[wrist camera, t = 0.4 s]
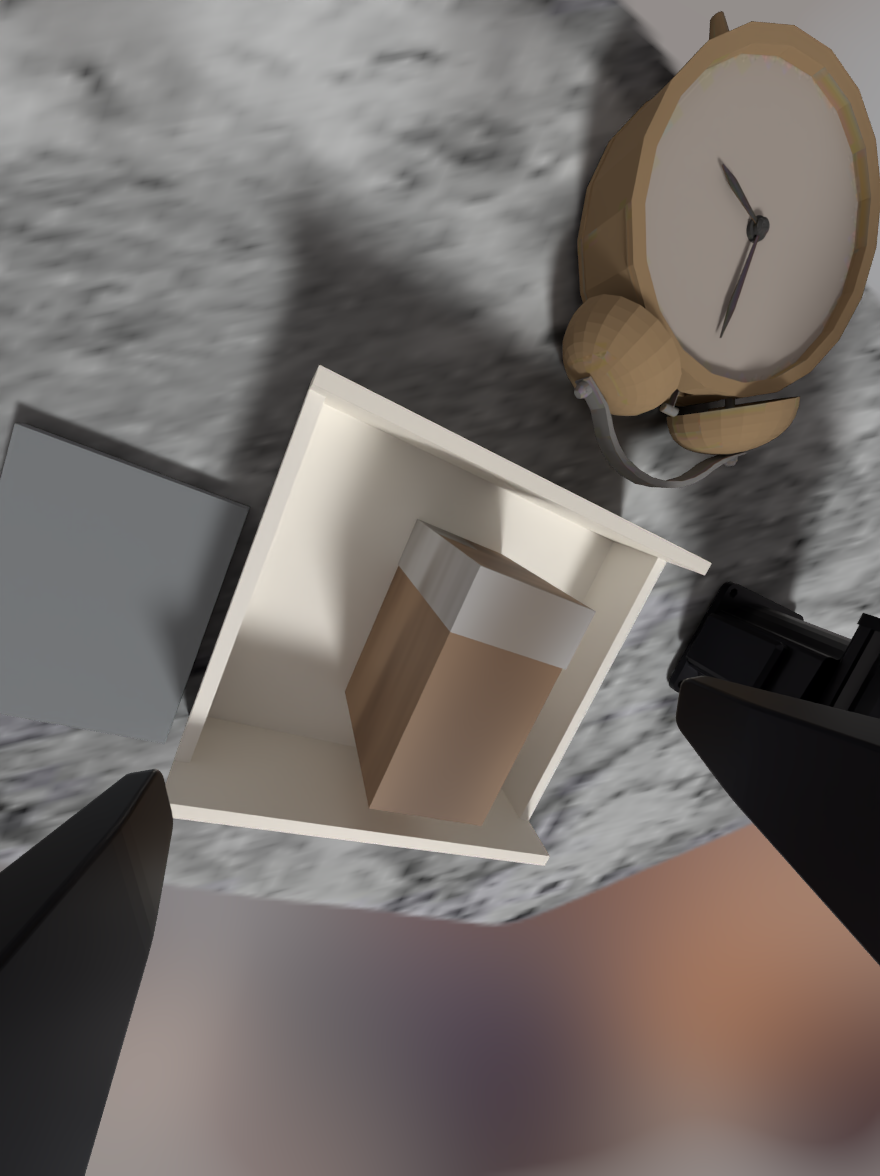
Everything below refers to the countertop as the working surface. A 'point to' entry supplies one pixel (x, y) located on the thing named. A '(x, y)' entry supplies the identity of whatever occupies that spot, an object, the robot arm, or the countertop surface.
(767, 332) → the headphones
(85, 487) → the slate mat
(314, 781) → the drawer
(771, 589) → the countertop surface
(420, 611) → the walnut block
